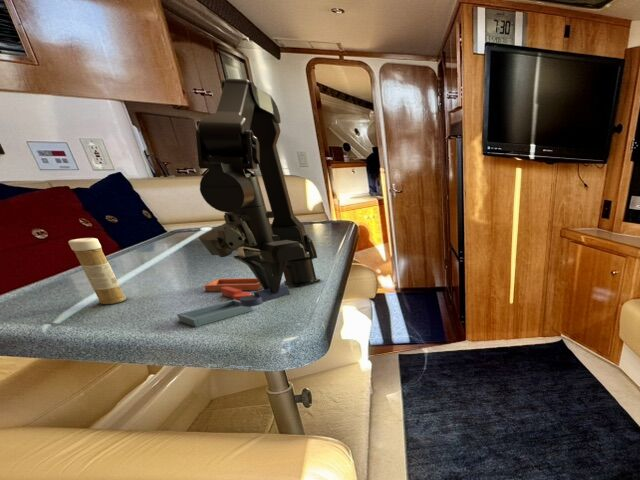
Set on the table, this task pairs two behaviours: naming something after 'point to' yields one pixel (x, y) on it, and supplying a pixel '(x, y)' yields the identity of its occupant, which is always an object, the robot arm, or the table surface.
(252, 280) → the terracotta tray
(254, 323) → the table surface
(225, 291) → the brick-red spoon
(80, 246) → the sprinkles bottle
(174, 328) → the table surface
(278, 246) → the robot arm
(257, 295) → the navy spoon
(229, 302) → the grey tray
